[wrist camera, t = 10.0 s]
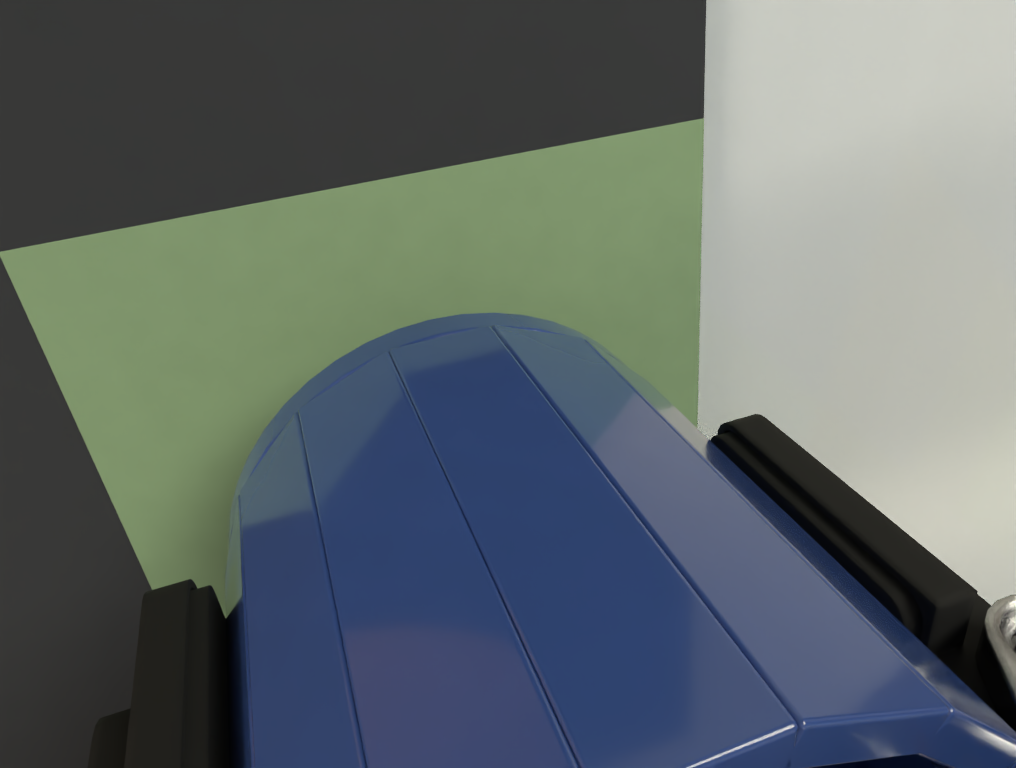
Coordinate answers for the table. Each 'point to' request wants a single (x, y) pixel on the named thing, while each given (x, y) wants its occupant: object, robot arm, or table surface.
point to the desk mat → (291, 261)
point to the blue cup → (549, 582)
